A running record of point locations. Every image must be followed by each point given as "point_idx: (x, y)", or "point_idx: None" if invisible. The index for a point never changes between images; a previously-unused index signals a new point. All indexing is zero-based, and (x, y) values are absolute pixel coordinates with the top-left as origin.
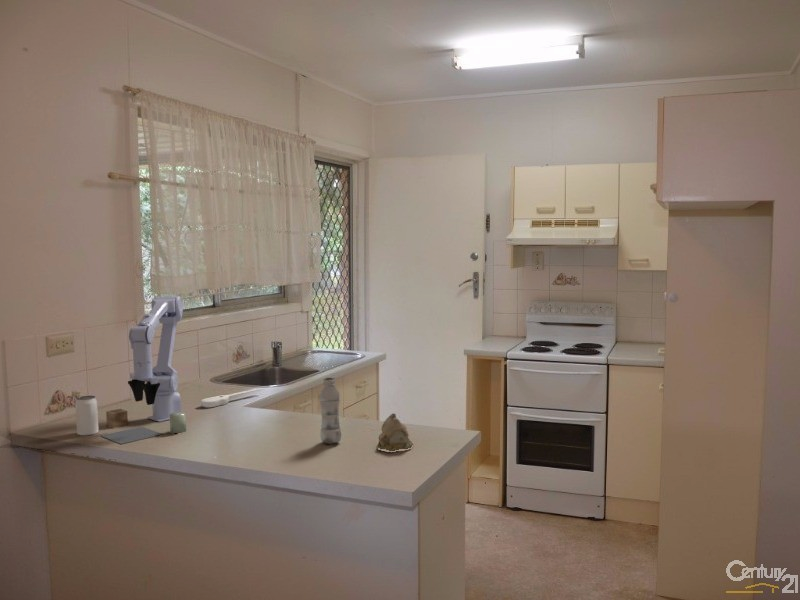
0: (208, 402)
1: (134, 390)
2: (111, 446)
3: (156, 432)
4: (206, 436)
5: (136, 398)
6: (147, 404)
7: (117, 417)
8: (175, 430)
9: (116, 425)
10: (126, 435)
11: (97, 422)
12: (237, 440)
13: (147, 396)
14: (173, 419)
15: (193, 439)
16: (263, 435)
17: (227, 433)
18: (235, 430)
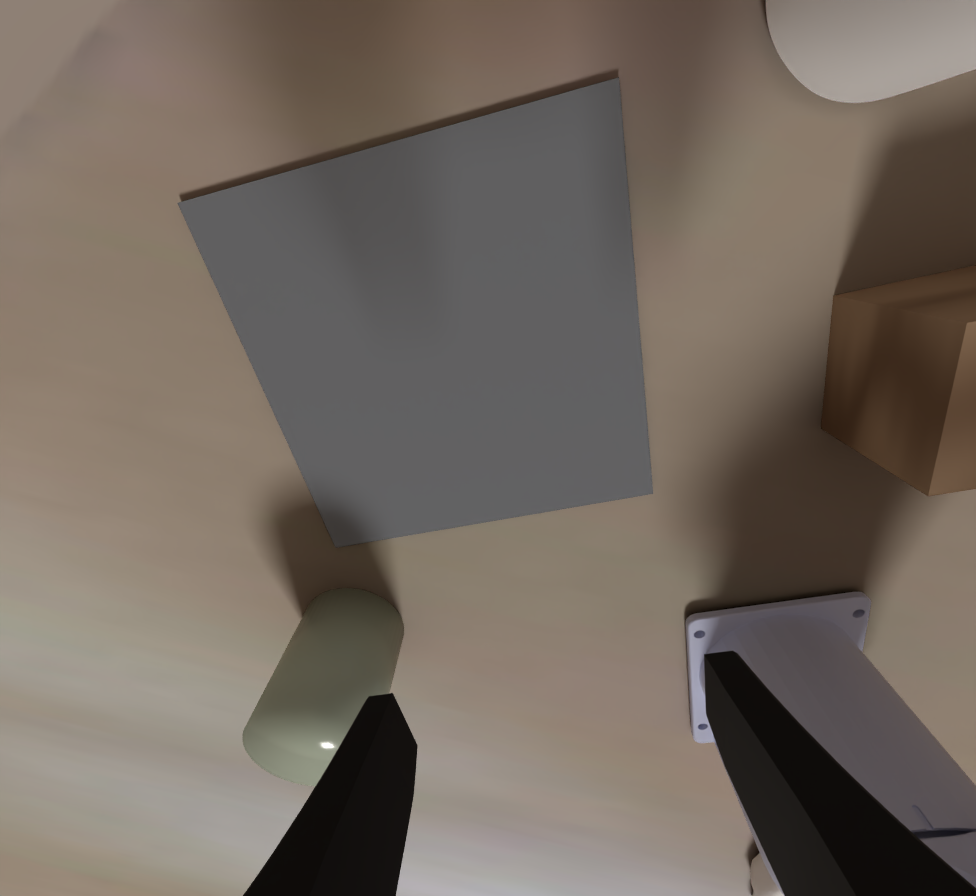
0: (770, 889)
1: (832, 872)
2: (147, 90)
3: (398, 527)
4: (168, 691)
5: (726, 700)
6: (383, 697)
7: (907, 364)
8: (301, 620)
9: (843, 328)
10: (449, 321)
11: (887, 44)
12: (34, 751)
13: (281, 845)
14: (272, 686)
15: (129, 633)
16: (89, 827)
17: (186, 761)
18: (228, 793)
